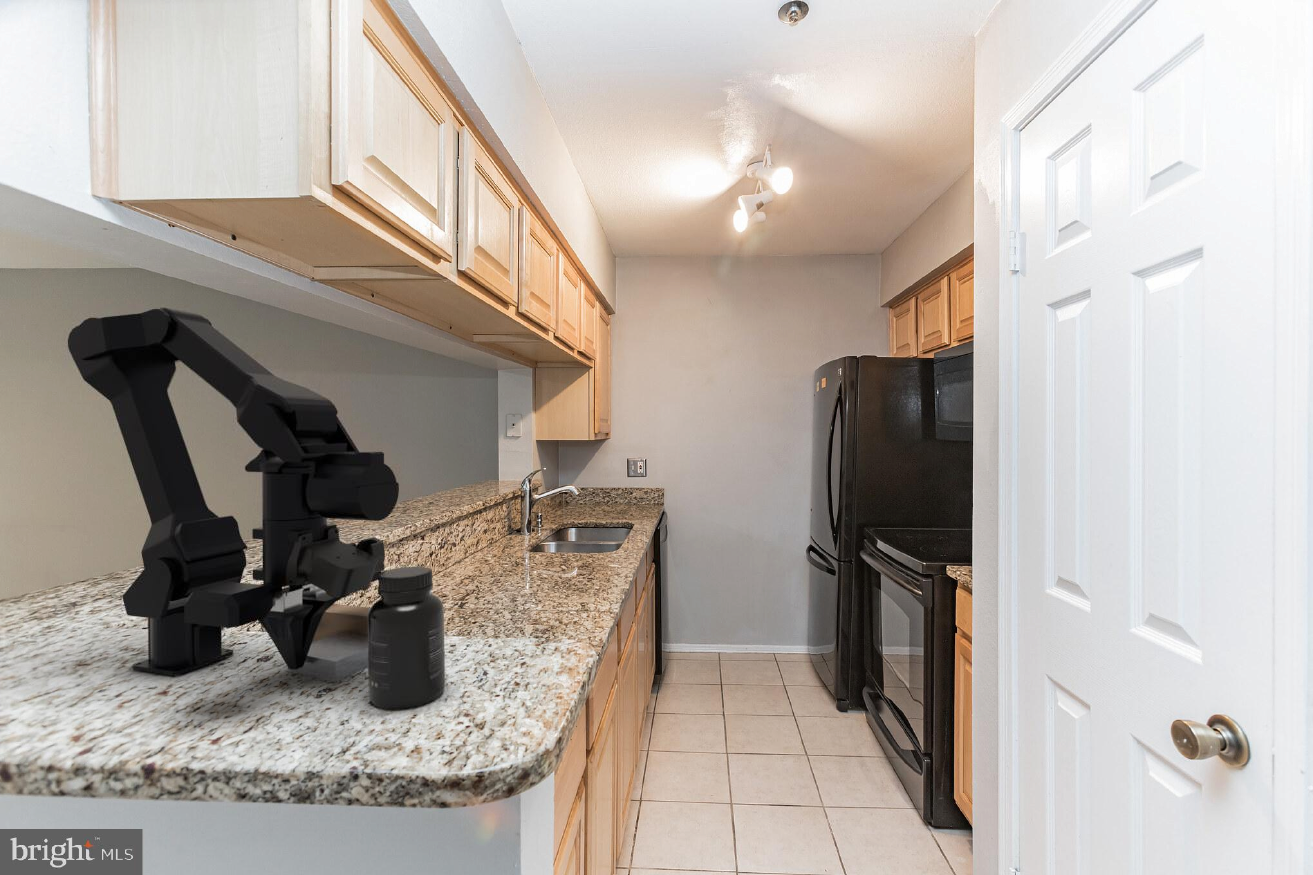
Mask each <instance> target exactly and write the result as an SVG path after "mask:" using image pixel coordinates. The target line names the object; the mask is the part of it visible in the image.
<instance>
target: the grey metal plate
mask: <svg viewBox="0 0 1313 875" xmlns="http://www.w3.org/2000/svg"><path fill="white" fill-rule="evenodd" d="M365 669H368V635H363V634H357V633H351V632H345V631H343V632H340V633H337V634H335V635H332V636H329V637H327V638H324V639H321V640H318V641H316V642H313V643H312V644H311V646H310V649H309V652H308V655H307V658H306V660H305V663H304V666H303V667H301V668H299V669H297V670H293V669H289V668H288V667H287V672H290V673H294V674H297V675H302V674H303V676H307V677H312V676H313V677H312V678H315V679H316V678H318V679H322V680H326V681H331V682H336V681H337V682H338V681H342V680H343V679H346V678H347V677H350V676H353V675H355V674H357V673H359V672H361V671H363V670H365Z"/></svg>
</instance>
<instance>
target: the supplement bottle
mask: <svg viewBox="0 0 1313 875" xmlns="http://www.w3.org/2000/svg"><path fill="white" fill-rule="evenodd" d="M377 581H378V589H377V594H378V596H380V598H379V599H378V600H376V601H375V602H374V603H373V604H372V605H371V606H370V610H369V612H368V619H367V625H368V668H367V669H368V696H369V700H370V703H372V704H373V705H374V706H375V707H377V708H379V709H385V710H405V709H410V708H415V707H418V706H422V705H425V704H427V703H429V702H431V701H433V700H435V699H436V698H437V697H439V696H440V695H441V693H442V692H443V691H444V689H445V685H446V681H445V680H446V659H445V658H446V655H445V652H446V651H445V611H444V608H445V607H444V603H443V601H442V600H441V599H440V598H439V597H438V596H437V595H435V594H433V593H431V591H432V590H433V589H434V582H433V570H432V568H430V567H428V566H427V567H425V566H404V567H403V566H401V567H397V568H391V569H387V570H383V571H382V573H380V574H379V576H378V580H377Z"/></svg>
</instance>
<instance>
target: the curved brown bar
mask: <svg viewBox="0 0 1313 875" xmlns="http://www.w3.org/2000/svg"><path fill="white" fill-rule="evenodd" d="M370 608H371V606H370V607H369V606H359V605H349V604H340V603H334V604H333V605H332V606H331V607H329V608H328V609H327V610H326V611H325V612H324V614H323V616H322V618H321V620H320V623H319V625H318V627H317V630H316V633H315V635H314V638H313V641H312V643H313V642H316V641H318V640H321V639H324V638H327V637H329V636H332V635H335V634H337V633H340V632H343V631H345V632H351V633H357V634H363V635H368V625H367V619H368V612H369V610H370Z"/></svg>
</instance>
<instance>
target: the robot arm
mask: <svg viewBox="0 0 1313 875" xmlns="http://www.w3.org/2000/svg"><path fill="white" fill-rule="evenodd" d="M67 348H68V350H69V353H70V355H71V357H72V360H73V361H74V363H75V365H76V367H77V369H78V371H79V373H80V376H81V377H82V379H83V381H85V383H87V385H89V386H91V387H92V389H94V390H95V391H97V392H98V393H99V394H101V395H102V396H103V397H104V398H106V400H108V401H109V402H110V403H111V404H110V405H111V407H112V409H113V413H114V415H115V417H116V418H115V419H116V421H117V423H118V427H119V430H120V434H121V436H122V439H123V442H124V445H125V447H126V450H127V455H128V457H129V460H130V463H131V465H132V468H133V471H134V475H135V478H136V481H137V483H138V486H139V490H140V492H141V495H142V498H143V501H144V504H145V507H146V510H147V514H148V516H149V520H150V524H151V526H150V528H149V531H148V534H147V537H146V538H145V540H144V544H143V546H142V549H141V559H142V563H143V570H142V571H141V573H139V575H138V576H137V577H136V579H135V580H134V581H133V582H132V583H131V584H130V586H129V587H128V588H127V590H126V591H125V592H124V593H123V594H122V601H123V605H124V609H125V612H126V615H127V616H129V617H136V618H137V617H139V618H147V649H148V650H147V659H144V660H141V661H138V662H136V663H133V664H132V670H134V671H140V672H148V673H154V674H160V675H161V674H162V675H167V676H180V675H182V674H185V673H188V672H190V671H193V670H195V669H198V668H201V667H203V666H206V665H208V664H211V663H215V662H218V661H219V660H222V659H224V658H227V657H230V656H232V655H234V649H232V648H223V647H222V646H223V641H222V640H223V639H222V638H223V636H222V633H223V632H222V628H226V629H231V628H237V627H239V628H240V627H242V626H245V625H249V624H251V623H254V622H259V624H260V625H261V626H262V628H263V629H264V631H265V632H266V633H267V634H268V636H269V638H270V640H271V641H272V642H273V644H274V647H275V648H276V649H277V651H278V653H279V655H280V657H282V659H283V661H284V663H285V664H286V666H287V669H288V668H289V669H293V670H297V669H299V668H301V667H303V666H304V663H305V660H306V658H307V655H308V652H309V649H310V646H311V644H312V641H313V638H314V635H315V633H316V630H317V627H318V625H319V623H320V620H321V618H322V616H323V614H324V612H325V611H326V610H327V609H328V608H329V607H331V606H332V605H333V604H336V602H338V601H342V599H344V598H347V597H349V596H350V595H351V594H354V593H356V592H359V591H362V592H364V591H367V590H369V589H370V587H371V584H372V583H374V582H377V581H378V576H379V574H380V573H382V572H384V571H385V567H386V566H385V560H386V552H385V544H384V541H383V540H380V539H379V538H377V537H374V536H373V537H369V538H368V537H367V538H365V539H361V540H360V541H359V542H358V543H355V542H350V543H346V542H343V541H341V540H340V529H339V528H338V526H337V523H336V524H335V523H328V519H330V520H331V519H333V520H352V521H353V520H354V521H373V522H375V521H376V522H380V521H383V520H385V519H386V518H387V517H389V516H390V515H391V514H392V512H393V511H394V510H395V507H396V505H397V502H398V499H399V492H400V486H399V485H400V484H399V482H397V478H396V476H395V473H394V472H393V469H392V468H391V467H390V466H388V465H387V464H386V463H385V453H384V452H383V451H360V450H359V449H358V448H357V446H356V444H355V442H354V441H353V439H352V437H351V436H350V435H349V432H347V429H345V427H344V425H343V424H342V422H341V421H340V419H339V417H338V412H339V411H338V408H337V407H336V406H335V404H334V403H333V402H332V401H331V400H330V399H329V398H327V397H325V396H323V395H321V394H319V393H317V392H315V391H313V390H312V389H309V388H307V387H304V386H301V385H299V384H296V383H293V382H290V381H287V380H285V379H282V378H280V377H278V376H276V375H275V374H273V373H272V372H271V371H269V370H268V369H267V368H265V367H264V366H263V365H262V364H260V363H259V362H258V361H257V360H256V359H254V358H253V357H252V356H251V355H249V354H248V353H247V352H245V351H244V350H243V349H241V348H240V347H239V346H238V345H236V344H235V343H234V342H232V340H230V339H229V338H227V337H226V336H225V335H224V334H223V333H221V332H220V331H219V330H218V329H216V328H215V327H214V326H213V324H212V322H211V321H210V320H209V319H208V318H206V317H204V316H203V315H201V314H199V313H195V312H192V311H191V312H189V311H185V310H179V309H173V308H169V307H168V308H167V307H159V308H151V309H150V310H146V311H144V312H139V313H131V314H130V313H129V314H121V315H112V316H111V315H110V316H103V317H88V318H86V319H84V320H83V321H82V322H81V323H80V324H79V325H76V326H75V327H73V328H72V329H71V331H70V332H69V334H68V337H67ZM180 362H181V363H182V364H184V366H186V367H188V369H190V370H191V371H192V372H193V373H195V374H196V375H197V376H198V377H200V379H202V380H203V381H204V382H206V383H207V384H208V385H209V386H210V387H211V388H213V389H214V390H215V391H216V392H218V393H219V394H220V395H221V396H222V397H224V398H225V399H226V400H227V401H228V402H230V403H231V405H232V406H234V408H235V410H236V411H235V412H236V422H237V424H238V426H240V427H241V428H242V430H243V431H244V432H245V433H246V434H247V435H248V437H249V438H250V439H251V440H252V441H253V443H254V444H255V445H256V446H257V447H258V448H260V449H261V450H260V452H259V454H257V456H256V457H254V458H253V459H251V460H250V461H249V462H248V463H247V464H246V465H245V466H244V470H245V472H248V473H262V474H261V475H262V476H261V478H262V479H261V481H262V482H261V484H262V488H261V489H262V490H261V491H262V493H261V495H262V496H261V497H262V498H261V500H262V501H261V502H262V504H261V505H262V508H261V509H262V510H261V511H262V513H261V514H262V520H261V521H262V524H261V526H262V527H261V526H260V527H256V528H252V530H251V531H252V532H251V533H252V534H251V535H252V540H262V544H261V545H262V566H261V567H258V568H254V569H252V580H254V581H262V584H256V583H246V582H245V583H244V582H241V581H242V578H243V574H244V572H245V568H246V567H247V556H246V552H245V550H247V549H248V545H247V544H246V543H245V542H244V540H243V537H242V536H241V533H240V528H239V527H240V526H239V524H238V521H237V519H236V518H235V517H234V515H225V516H218V515H217V514H216V513H215V512H213V511H212V510H211V509H210V508H209V507H208V505H207V503H206V499H205V497H204V496H205V495H204V493H203V491H202V488H201V485H200V482H199V479H198V476H197V474H196V471H195V467H194V465H193V462H192V459H191V456H190V454H189V451H188V448H187V445H186V442H185V439H184V436H183V433H182V430H181V428H180V424H179V422H178V419H177V416H176V413H175V410H174V406H173V405H172V404H173V403H172V402H171V401H172V400H171V398H170V396H169V391H168V390H169V388H170V385H171V383H172V381H173V379H174V376H175V374H176V372H177V365H176V364H177V363H180ZM284 587H285V588H284Z"/></svg>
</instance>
